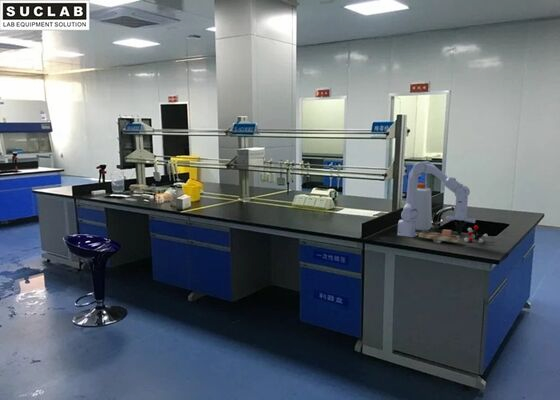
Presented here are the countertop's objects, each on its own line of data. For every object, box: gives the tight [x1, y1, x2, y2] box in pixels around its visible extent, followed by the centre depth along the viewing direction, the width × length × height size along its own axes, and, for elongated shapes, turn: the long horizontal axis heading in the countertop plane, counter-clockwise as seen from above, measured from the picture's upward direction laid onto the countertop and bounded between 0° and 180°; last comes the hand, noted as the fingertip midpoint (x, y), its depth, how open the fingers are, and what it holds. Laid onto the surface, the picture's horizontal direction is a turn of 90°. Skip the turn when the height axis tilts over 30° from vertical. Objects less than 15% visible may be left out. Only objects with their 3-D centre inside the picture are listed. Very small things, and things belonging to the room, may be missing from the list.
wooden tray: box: [418, 230, 460, 244], centre depth 235 cm, size 20×7×5 cm, turn 53°
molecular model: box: [463, 225, 489, 244], centre depth 234 cm, size 16×8×10 cm, turn 129°
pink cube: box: [441, 229, 452, 237], centre depth 232 cm, size 4×4×4 cm
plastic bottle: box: [415, 182, 433, 232], centre depth 265 cm, size 15×15×28 cm
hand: (459, 234), depth 228 cm, fingers closed
